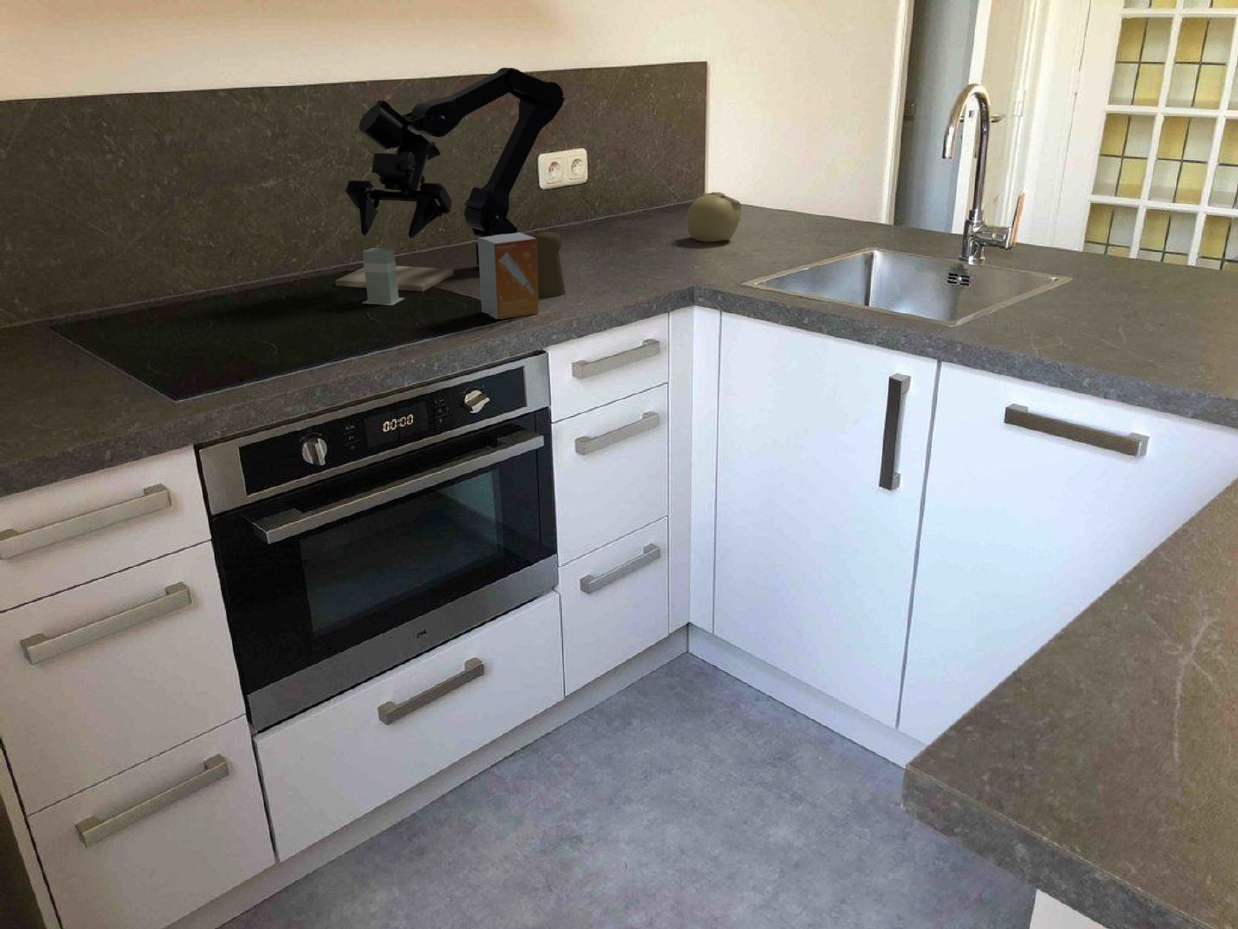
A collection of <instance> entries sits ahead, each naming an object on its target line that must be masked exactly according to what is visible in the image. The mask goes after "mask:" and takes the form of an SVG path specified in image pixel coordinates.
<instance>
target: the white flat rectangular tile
mask: <svg viewBox="0 0 1238 929" xmlns="http://www.w3.org/2000/svg"><path fill="white" fill-rule="evenodd" d="M404 299H405V297H399V299H398V300H396V301H394V302H393V303H380V302H368V299H367V300H365V301H362V302H361V304H368V305H383V306H384V305H385V306H394V305H395V304H397V303H399V302H401V301H403V300H404Z"/></svg>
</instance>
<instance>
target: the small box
mask: <svg viewBox="0 0 1238 929" xmlns="http://www.w3.org/2000/svg"><path fill="white" fill-rule="evenodd" d="M479 237H480V236H479ZM534 237H535V236H534ZM534 237H533V236H530V235H528V234H525V233H522V232H518V231H517V233H512V234H502V235H494V236H488V237H480V238H478V237H477V244H478V252H479V265H478V266H479V270H478V271H479V282H480V283H479V284H480V285H479V287H480V300H481V301H480V304H481V313H483V312H484V313H487V314H489V315H490V316H489V315H488V316H489V317H491V316H492V317H491V318H493V317H494V318H493V319H495V320H497V319H500V320H504V319H511V318H517V317H524V316H530V315H537V314H539V312H540V311H539V296H538V276H537V243H536V238H534ZM484 313H483V314H484Z"/></svg>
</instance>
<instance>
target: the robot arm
mask: <svg viewBox="0 0 1238 929" xmlns="http://www.w3.org/2000/svg"><path fill="white" fill-rule="evenodd" d="M507 94H510V95H511V96H513V97H514V98H516V99H518V100H519V103H518V119H517V122H516V124H515V125H514V128H513V130H512V132H511V134H510V136H509V138H508V140H507V142H506V144H505V146H504V148H503V151H502V152H501V155H500V157H499V158H498V161H497V163H495V167H494V169H493V171H492V173H491V174H490V177H489V179H488V181H487V182H486V183H485V185H484V186H483V187H477V186H473V187H472V188H471V190H470V194H469V198H468V199H467V200H466V201H465V203H464V204H463V205H464V206H465V209H464V214H463V216H464V217H465V222H466V223H467V225H468V226H469V227H470V228H471V230H472V233H473V235H474V236H476V237H477V239H478V238H480V237H488V236H494V235H502V234H512V233H518V228H517V227H516V226H515V225H514V223H512V222H511V221H510V220H509V219H508V215H509V211H510V196H511V195H510V194H511V193H512V190H513V187H514V186H515V183H516V182H517V179H518V177H519V175H520V173H521V171H522V169H523V167H524V165H525V164H526V162H527V160H528V159H527V158H528V157H529V155H530V152H532V149H533V146H534V145H535V143H536V141H537V139H538V137H539V134H540V132H541V131H542V129H544V128H545V127H546V126H547V125H548V124H549V123H550V122H552V120H554V119H555V117H556V116H557V114H558V113H559V112H560V110H561V109H562V107H563V105H564V103H565V96H564V91H563V89H562V87H561V86H560V85H559V83H558V82H555V81H547V80H545V81H544V80H542V79H539V78H537V77H534V76H532V75H529V74H527V73H525V72H523V71H521V70H520V69H518V68H515V67H501V68H499V69H498V70H497V71H495V72H494V73H491V74H490V75H488V76H487V77H484V78H482V79H481V80H478V81H476V82H475V83H473V84H470V85H469V86H467V87H465V88H463V89H461V90H459V91H458V92H455V93H454V94H451V95H449V96H444V97H439V98H435V99H434V98H433V99H429V100H425V101H423V102H419V103H417V104H416V105H414V107H413V108H412V109H411V111H410V112H407V113H404V114H402V115H401V113H399V112H398V111H396V110H395V109H394V108H392V106H391V105H390V104H389V103H388V102H387V101H386V100H383V99H378V100H377V102H376V103H375V104H374V105H373V106H372V107H370V108H369V109H368V110H367V112H365V113H364V114H363V115H362V117H361V119H360V121H359V125H358V130H359V131H360V132H361V133H363V134H364V135H365V136H367V137H368V138H369V139H371V140H372V141H373V142H374V143H376V144H377V145H379V147H381V148H382V149H383V150H390V149H396V150H395V153H389V152H388V153H386V152H385V153H383V152H374V153H373V155H372V165H371V172H372V173H375V174H376V175H378V176H379V179H378V181H379V182H380V184H381V185H384V187H383V188H382V187H374V185H373V184H372V182H371V181H370V180H367V179H351V180H350V179H349V180H348V182H347V184H346V186H345V187H346V188H345V190H344V191H345V193H346V194H347V196H348V197H349V199H350V200H351V202H352V204H354V206H355V207H356V208H357V209H358V210H359V217H360V218H359V219H360V230H361V234H362V235H363V237H364V236H365V237H366V236H367V235H368V233H369V231H370V229H371V227H372V225H373V223H374V220H375V219H376V217H377V214H378V210H377V209H378V208H379V205H380V201H392V202H393V201H395V202H398V203H416V204H415V205H416V206H415V209H414V213H413V217H412V218H411V222H410V226H409V229H408V233H407V235H408V237H409V238H410V239H413V238H415V236H416V235H417V234H419V233H420V232H421V231H423V229H424V228H425V227H426V226H427V225H429V224H430V223H431V222H432V221H433V220H435V219H437V218H438V217H439V218H440V217H442V216H443V214H449V213H450V212H451V209H452V208H451V207H452V205H453V204H452V203H453V202H452V198H451V197H450V194H449V193H448V191H447V190H446V188H445V186H444V185H443V183H442V182H425V180H426V178H425V176H424V170H425V167H426V164H427V162H428V161H430V160H432V159H434V158H436V157H438V156H440V155H441V151H440V149H439V148H438V147H437V146H436V143H435V141H429V139H427V138H425V136H429V137H435V138H442V137H445V136H446V135H448V134H449V133H450V132H452V130H454V129H455V128H456V127H457V126H458V125H460V122H461V121H463V119H464V118H465V117H467V116H468V115H469V114H471V113H473V112H475V111H477V110H479V109H481V108H482V107H484V106H486V105H489V104H490V103H492V102H494V101H496V100H498V99H499V98H501V97H503V96H506V95H507ZM411 130H414V131H416V133H415V132H413V131H411ZM419 189H420V190H419ZM475 254H476V258H475V259H476V265H477V266H476V267H475V269H476V271H477V270H478V271H480V270H479V252H478V243H477V244H475Z"/></svg>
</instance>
